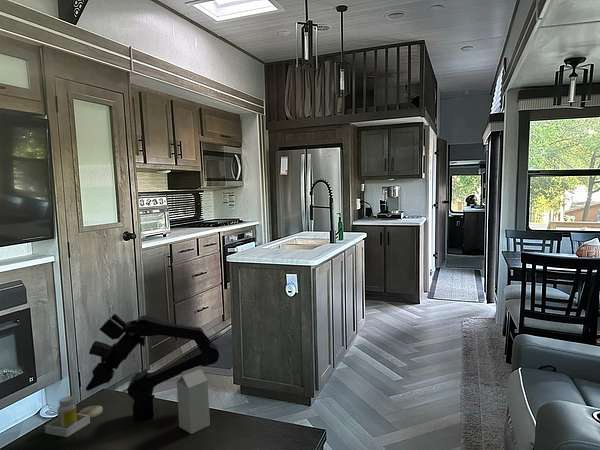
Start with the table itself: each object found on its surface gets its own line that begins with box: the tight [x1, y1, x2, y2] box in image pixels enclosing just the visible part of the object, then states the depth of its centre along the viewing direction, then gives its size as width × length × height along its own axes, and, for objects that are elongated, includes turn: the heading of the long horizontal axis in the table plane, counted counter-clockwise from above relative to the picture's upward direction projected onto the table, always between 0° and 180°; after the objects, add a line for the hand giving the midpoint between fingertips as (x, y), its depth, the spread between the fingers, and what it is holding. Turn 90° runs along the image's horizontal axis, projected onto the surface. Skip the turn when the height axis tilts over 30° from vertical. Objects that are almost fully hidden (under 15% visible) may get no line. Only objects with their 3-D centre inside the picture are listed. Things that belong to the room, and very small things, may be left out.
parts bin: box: [44, 412, 91, 438], centre depth 137 cm, size 9×9×2 cm
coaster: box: [78, 405, 104, 419], centre depth 146 cm, size 8×8×1 cm
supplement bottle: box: [57, 395, 77, 428], centre depth 137 cm, size 5×5×10 cm
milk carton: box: [176, 366, 211, 435], centre depth 134 cm, size 7×7×19 cm
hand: (90, 384), depth 138 cm, fingers open, 9 cm apart
